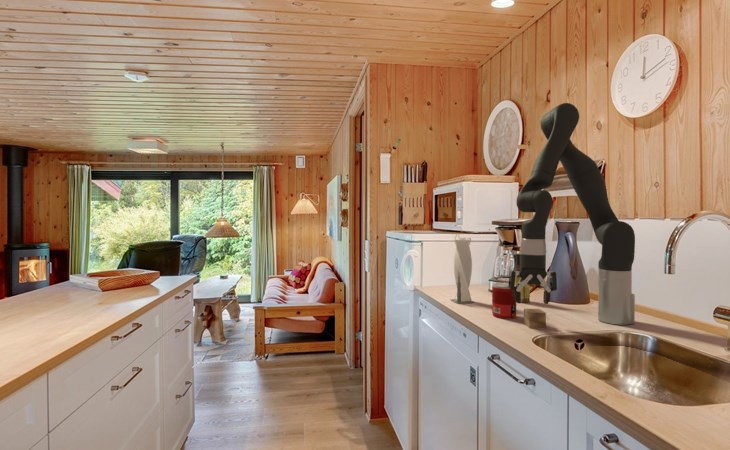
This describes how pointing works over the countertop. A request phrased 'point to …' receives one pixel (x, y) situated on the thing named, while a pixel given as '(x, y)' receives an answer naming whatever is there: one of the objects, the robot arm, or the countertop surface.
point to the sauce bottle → (526, 289)
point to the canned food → (503, 301)
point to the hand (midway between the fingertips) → (531, 303)
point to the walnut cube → (535, 318)
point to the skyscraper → (462, 270)
